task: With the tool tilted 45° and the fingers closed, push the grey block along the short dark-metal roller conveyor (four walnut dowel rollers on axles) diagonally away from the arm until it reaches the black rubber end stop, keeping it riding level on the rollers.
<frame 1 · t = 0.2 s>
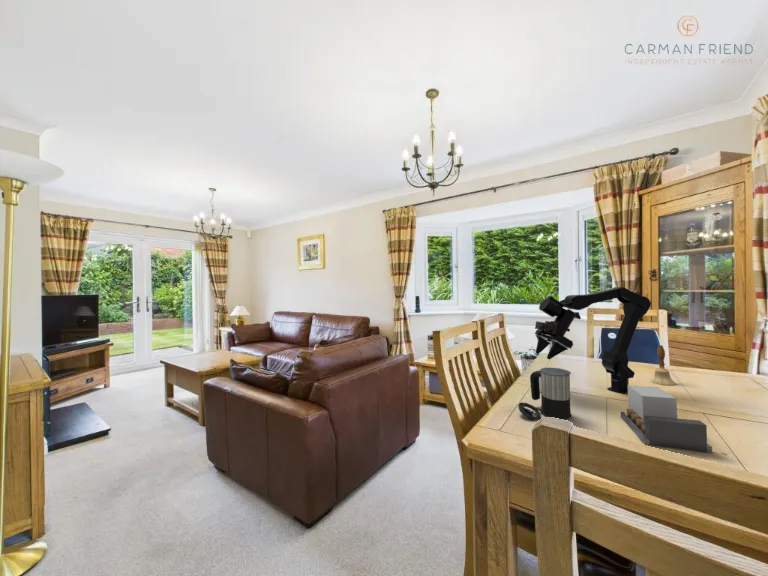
hand: (542, 356, 128), 15 cm above the table, tool tilted 35°, fingers open, 9 cm apart
grey block: (651, 414, 98), point 3 cm above the table, touching roller 1, roller 2, roller 3
hand bell: (662, 383, 136), on the table
roller 2: (654, 420, 96), point 2 cm above the table, hinge at -0.1°, touching grey block
cup: (551, 392, 129), on the table
roller 4: (666, 432, 89), point 2 cm above the table, hinge at 0.0°
roller 3: (660, 426, 92), point 2 cm above the table, hinge at 0.1°, touching grey block
milk frother: (545, 416, 107), on the table
conveyor frame: (660, 432, 92), on the table
roller 1: (648, 415, 100), point 2 cm above the table, hinge at -0.2°, touching grey block
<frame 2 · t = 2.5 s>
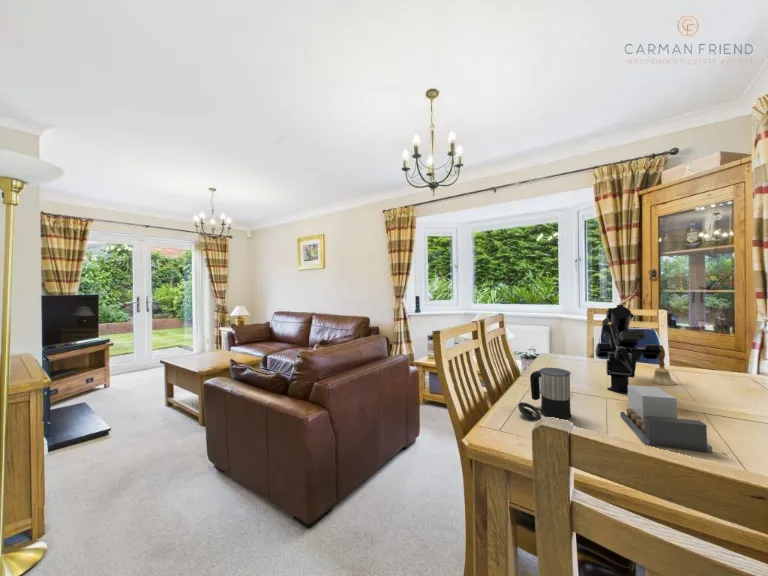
hand: (633, 371, 110), 13 cm above the table, tool tilted 45°, fingers closed
roller 2: (654, 420, 96), point 2 cm above the table, hinge at -0.5°, touching grey block
roller 1: (648, 415, 100), point 2 cm above the table, hinge at -0.7°, touching grey block
everything else where it was.
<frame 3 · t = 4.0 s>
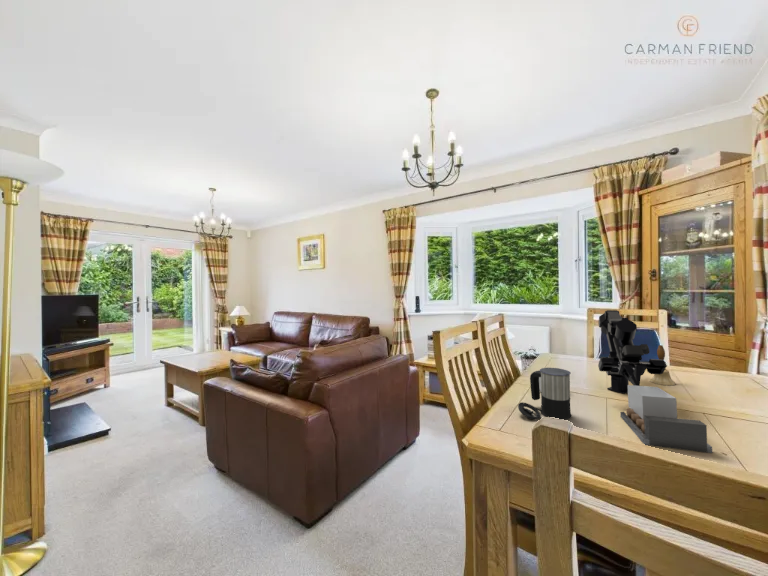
hand: (637, 387, 107), 8 cm above the table, tool tilted 45°, fingers closed
roller 1: (648, 415, 100), point 2 cm above the table, hinge at -1.0°, touching grey block
everything else where it was.
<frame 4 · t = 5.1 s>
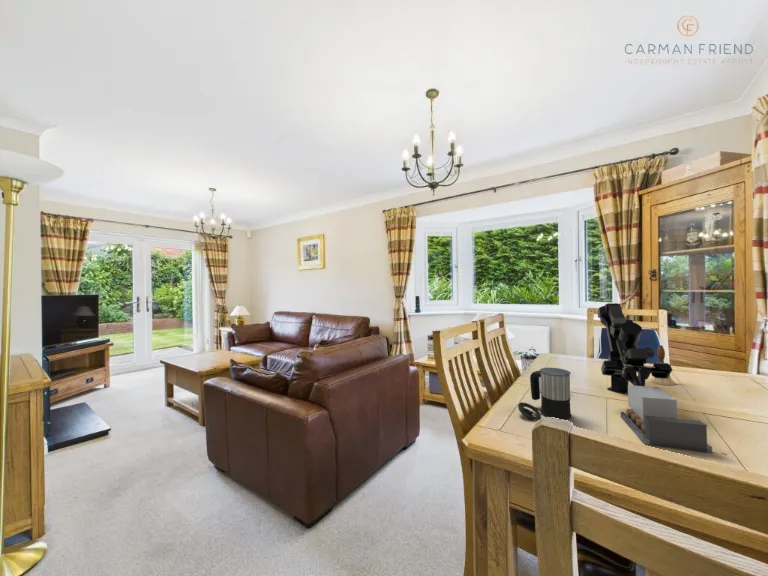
hand: (642, 392, 104), 8 cm above the table, tool tilted 45°, fingers closed, pressing on grey block
grey block: (651, 414, 98), point 3 cm above the table, touching gripper, roller 1, roller 2, roller 3
everything else where it was.
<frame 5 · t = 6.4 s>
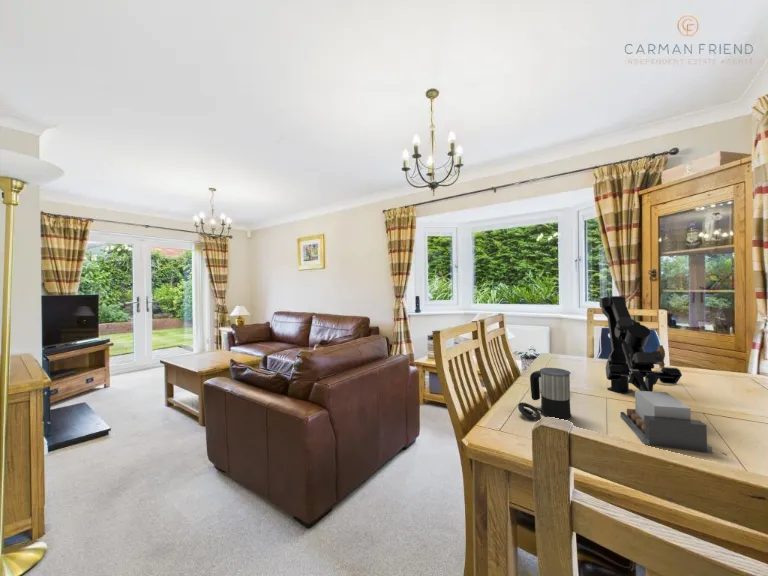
hand: (650, 398, 98), 8 cm above the table, tool tilted 45°, fingers closed, pressing on grey block
grey block: (661, 422, 92), point 3 cm above the table, touching gripper, roller 2, roller 3, roller 4
roller 2: (654, 420, 96), point 2 cm above the table, hinge at -0.4°, touching grey block
roller 4: (666, 432, 89), point 2 cm above the table, hinge at 0.4°, touching grey block
roller 3: (660, 426, 92), point 2 cm above the table, hinge at -0.1°, touching grey block
roller 1: (648, 415, 100), point 2 cm above the table, hinge at -0.7°
everything else where it was.
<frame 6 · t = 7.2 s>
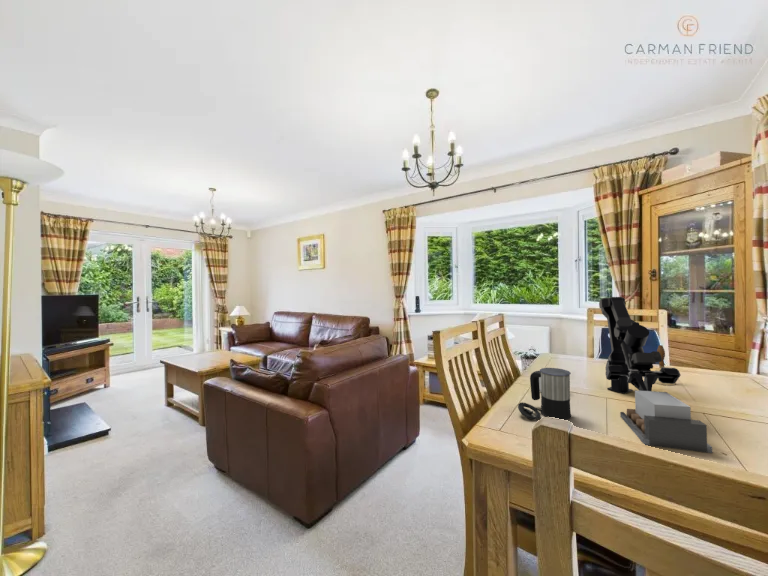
hand: (649, 398, 99), 7 cm above the table, tool tilted 45°, fingers closed
grey block: (661, 421, 92), point 3 cm above the table, touching roller 2, roller 3, roller 4
roller 2: (654, 420, 96), point 2 cm above the table, hinge at 1.4°, touching grey block
roller 4: (666, 432, 89), point 2 cm above the table, hinge at 5.5°, touching grey block
roller 3: (660, 426, 92), point 2 cm above the table, hinge at 3.1°, touching grey block
everything else where it was.
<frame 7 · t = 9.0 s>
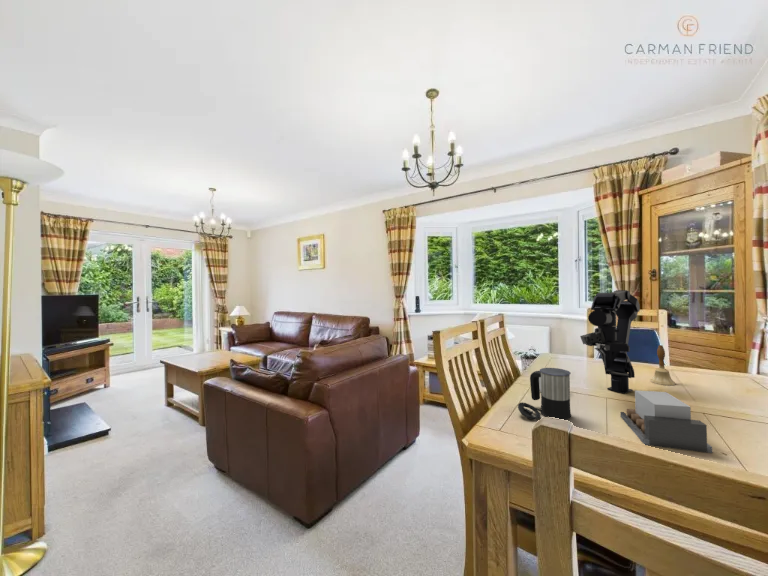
hand: (607, 368, 118), 12 cm above the table, tool pointing down, fingers closed
roller 2: (654, 420, 96), point 2 cm above the table, hinge at 3.2°, touching grey block
roller 4: (666, 432, 89), point 2 cm above the table, hinge at 9.1°, touching grey block
roller 3: (660, 426, 92), point 2 cm above the table, hinge at 5.6°, touching grey block
everything else where it was.
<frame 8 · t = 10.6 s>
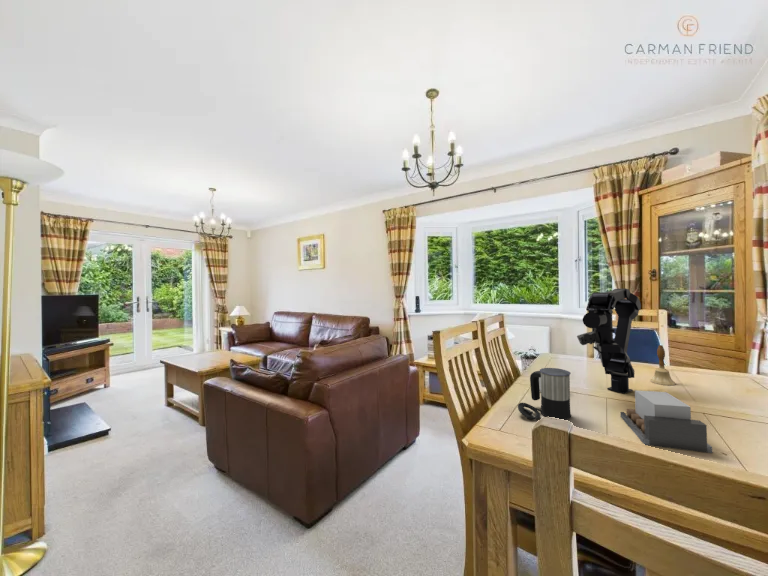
hand: (604, 366, 120), 12 cm above the table, tool pointing down, fingers closed
nothing on the table moved.
at the end: grey block moved 6.0 cm from its start; grey block tilted 0°; grey block inside the target area (0.5 cm from its centre), point 3.1 cm above the table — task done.
